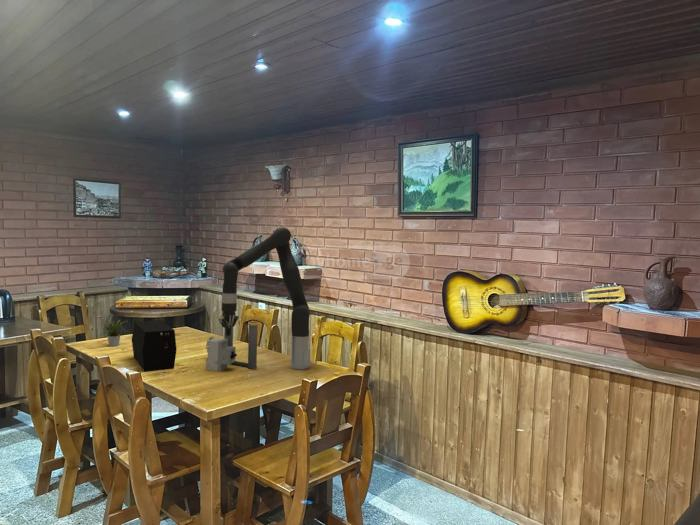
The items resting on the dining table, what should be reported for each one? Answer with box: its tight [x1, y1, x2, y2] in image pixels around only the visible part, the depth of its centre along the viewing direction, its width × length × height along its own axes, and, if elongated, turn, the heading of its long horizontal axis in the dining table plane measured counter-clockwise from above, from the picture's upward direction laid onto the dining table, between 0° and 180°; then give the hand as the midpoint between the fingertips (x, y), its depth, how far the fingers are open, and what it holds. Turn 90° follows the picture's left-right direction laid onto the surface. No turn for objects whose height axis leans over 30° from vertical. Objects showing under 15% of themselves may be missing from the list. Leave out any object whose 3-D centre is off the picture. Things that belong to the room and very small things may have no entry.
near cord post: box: [247, 321, 259, 370], centre depth 259 cm, size 5×5×24 cm
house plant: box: [103, 319, 127, 348], centre depth 299 cm, size 14×14×16 cm
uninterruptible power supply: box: [131, 319, 177, 373], centre depth 262 cm, size 16×34×20 cm, turn 32°
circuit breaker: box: [205, 337, 238, 372], centre depth 255 cm, size 8×14×15 cm, turn 78°
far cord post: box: [223, 326, 234, 365], centre depth 267 cm, size 5×5×24 cm
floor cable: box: [231, 360, 248, 368], centre depth 264 cm, size 11×2×2 cm, turn 64°
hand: (228, 335), depth 254 cm, fingers closed
